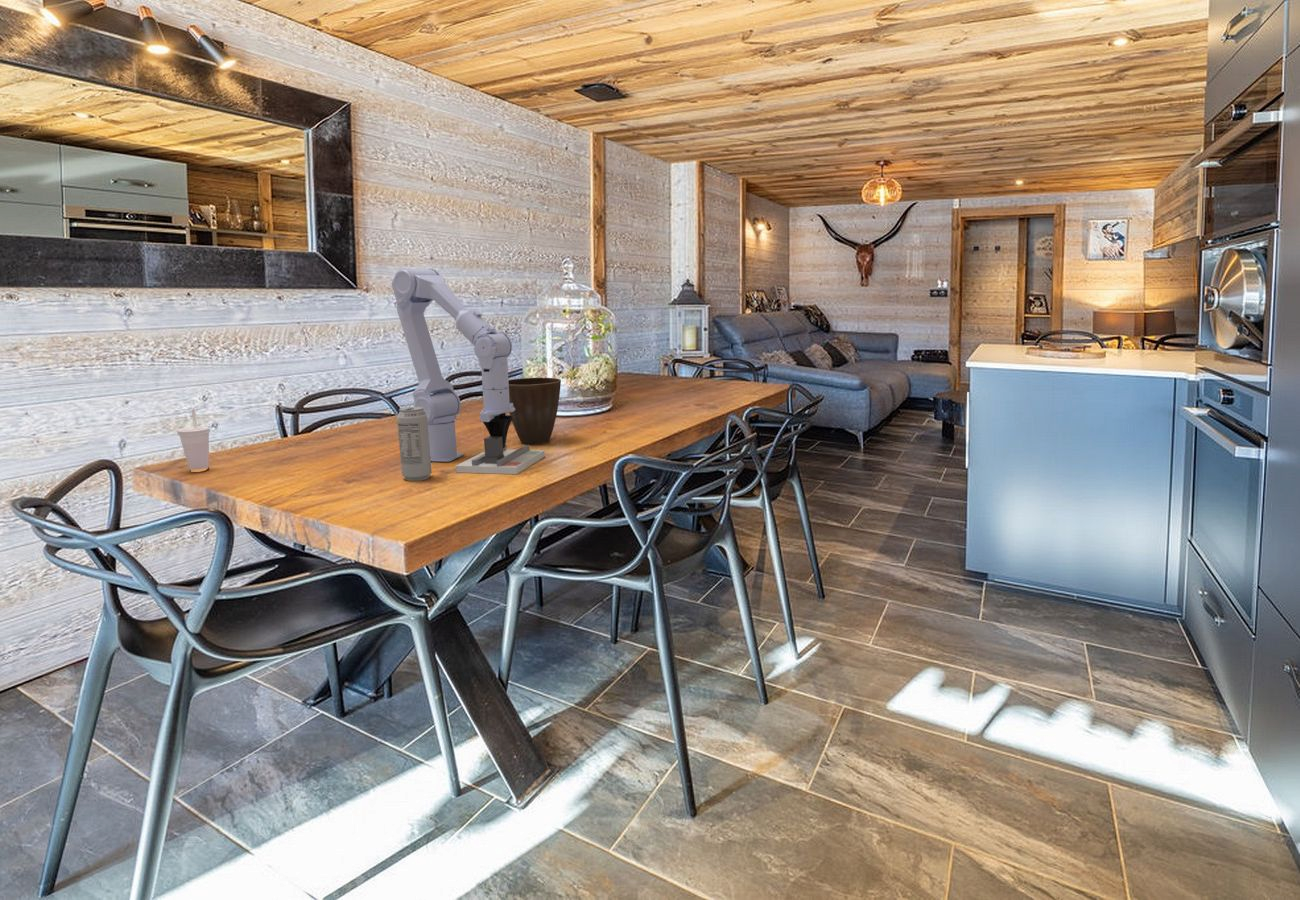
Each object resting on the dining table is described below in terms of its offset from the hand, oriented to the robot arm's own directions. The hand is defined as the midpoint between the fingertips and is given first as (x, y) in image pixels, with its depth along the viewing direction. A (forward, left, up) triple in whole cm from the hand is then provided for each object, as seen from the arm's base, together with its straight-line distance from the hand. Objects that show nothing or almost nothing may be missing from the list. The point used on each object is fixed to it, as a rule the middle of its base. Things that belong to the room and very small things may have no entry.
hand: (499, 448), depth 172 cm
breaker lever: (0, -3, -2) cm, 4 cm away
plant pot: (-2, +27, -4) cm, 27 cm away
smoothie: (-67, -14, -4) cm, 69 cm away
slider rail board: (0, +1, -4) cm, 4 cm away
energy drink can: (-13, -14, -4) cm, 19 cm away
